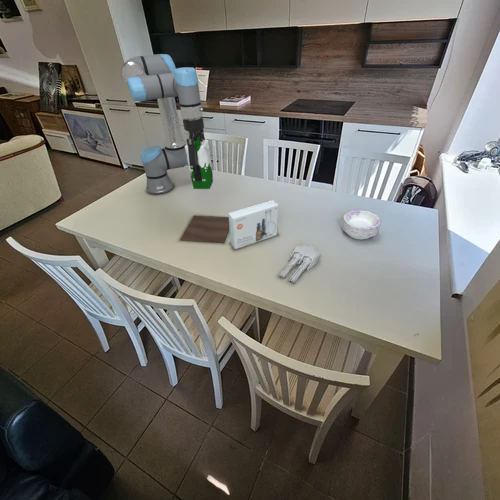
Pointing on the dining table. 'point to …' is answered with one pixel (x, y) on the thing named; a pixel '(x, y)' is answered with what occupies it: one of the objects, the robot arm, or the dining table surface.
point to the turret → (301, 260)
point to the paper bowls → (361, 224)
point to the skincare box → (253, 224)
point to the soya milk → (202, 165)
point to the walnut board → (207, 229)
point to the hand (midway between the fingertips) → (201, 175)
